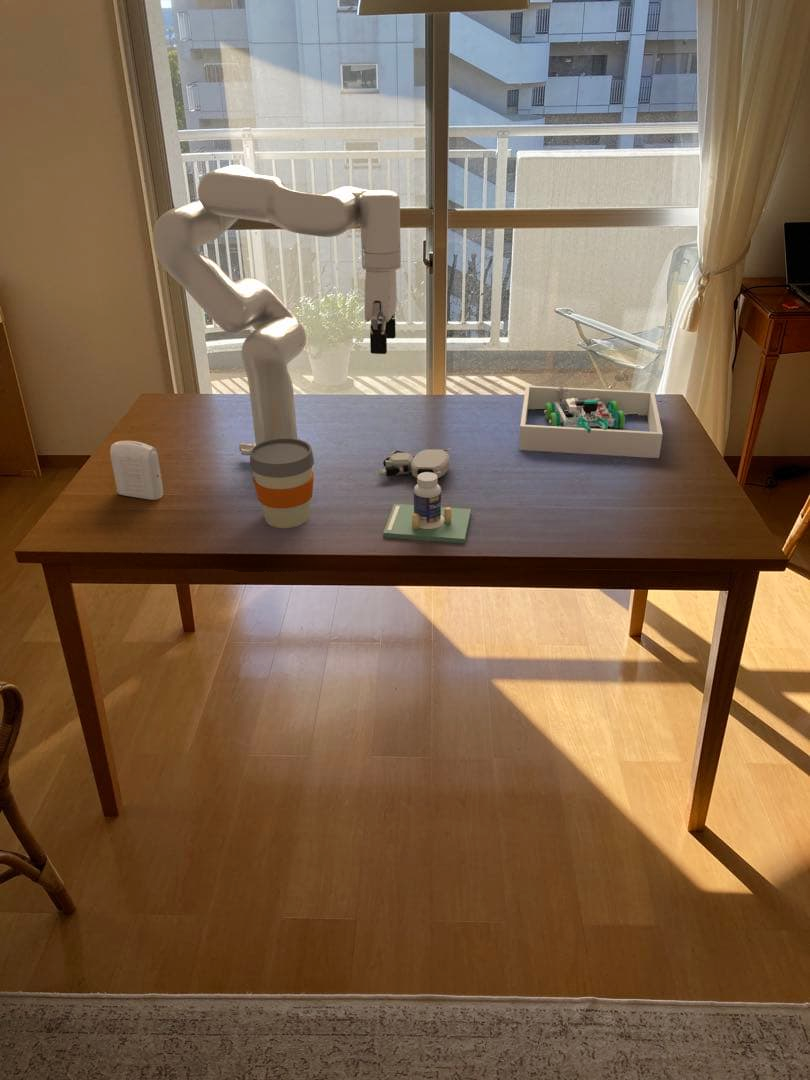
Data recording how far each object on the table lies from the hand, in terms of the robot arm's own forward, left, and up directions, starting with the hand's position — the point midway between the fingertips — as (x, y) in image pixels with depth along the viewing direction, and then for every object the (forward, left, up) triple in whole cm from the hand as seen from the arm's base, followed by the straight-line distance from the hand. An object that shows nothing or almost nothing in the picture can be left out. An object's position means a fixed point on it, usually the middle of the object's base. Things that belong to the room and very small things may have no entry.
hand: (383, 345), depth 178 cm
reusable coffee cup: (-17, -20, -31) cm, 40 cm away
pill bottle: (+12, -19, -29) cm, 37 cm away
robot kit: (+44, +32, -30) cm, 62 cm away
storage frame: (+44, +32, -30) cm, 62 cm away
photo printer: (-51, -15, -31) cm, 61 cm away
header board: (+12, -19, -30) cm, 38 cm away
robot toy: (+6, +4, -31) cm, 31 cm away
